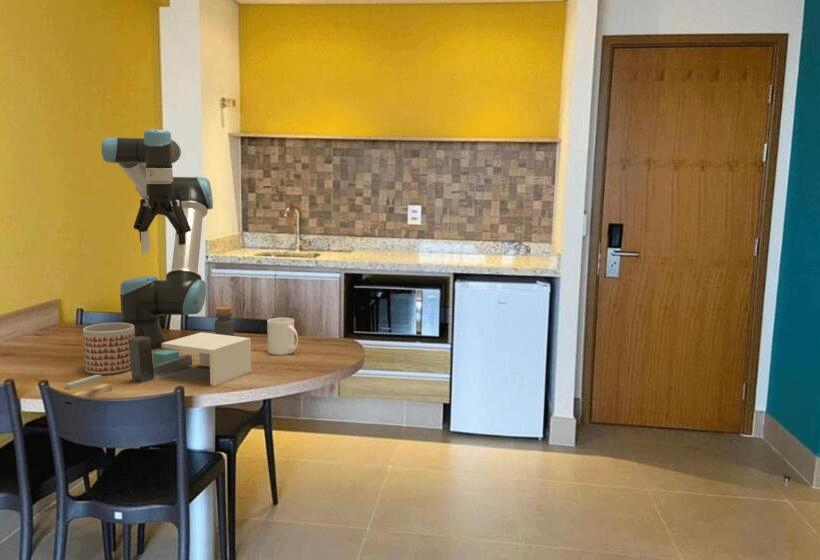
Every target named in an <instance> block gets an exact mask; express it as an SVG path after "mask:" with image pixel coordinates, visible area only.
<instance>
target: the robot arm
mask: <svg viewBox="0 0 820 560" xmlns="http://www.w3.org/2000/svg"><path fill="white" fill-rule="evenodd" d="M181 155H182V151H181V146H180V144H179V143H177V142H176V141H175V140H173V139H172V133H171V132H170V130H167V129H147V130H144V132H143V138H142V137H139V138H137V137H116V136H115V137H106V138H104V139H103V140H102V142H101V156H102V159H103V160H104V162H106V163H112V164H118V166H119V167H120V168H121V169H122V171H123V172H124V173H125V174H126V175H127V176H128V178H129V179H130V180H131V181H132V182H133V184H134V185H135V189H136V192H137V194H138V195H139V196H140V197H141V198H140V200H139V201H140V203H139V209H138V212H137V214H136V218H135V221H134V224H133V229H134V230H137V231H138V232H139V242H140V243H141V245H140V247H141V254H150V253H151V238H150V237H151V236H150V235H151V234H150V231H149V227H150V226H151V224H152V223H153V221H154V220H155V218H156V216H157V215H161V216H164V217H166V218H167V220H168V221H169V223H170V225H172V227H173V228H174V230H175V233H174V245H173V253H172V263H171V270H170V271H168V272H167V273H166V274H165V275H166V276H165V280H164V279H163V280H162V279H161V280H158V279H159V278H158V276H157V275H148V276H146V275H144V276H139V277H134V278H129V279H126V280H124V281H122V282H121V283H120V287H119V288H120V290H119V293H120V294H119V296H120V299H119V300H120V312H121V313H120V314H121V323H129V324H132V325H134V329H135V337H138V336H145V337H150V338H151V349H152V350H153V349H157V348H162V343H164V342H166V337H165V334H164V333H163V330H162V326H161V324H160V317H159V316H169V315H170V316H174V315H175V316H179V315H180V316H181V315H182V316H188V315H198V314H199V313H200V312H201V311H202V310H203V308H204V305H205V301H206V295H207V293H206V290H207V285H206V282H205V280H203V279H202V276H201V274H199V273H198V270H199V263H200V262H199V261H200V248H201V240H202V228H203V219H204V218H205V217H206V216H207V215H208V210H212V209H213V208H214V199H213V193H212V186H211V182H210V180H209V179H208V178H207V177H201V176H195V177H194V176H192V177H191V176H174V175H173V164H174V163H176V162H178V160H179V159H180V158H181Z"/></svg>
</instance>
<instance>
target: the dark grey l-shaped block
mask: <svg viewBox="0 0 820 560" xmlns="http://www.w3.org/2000/svg"><path fill="white" fill-rule="evenodd" d="M128 340H129V351H130V361H131V371H130V372H131V380H132V381H135V382H138V383H145V382H148V381H152V380H155V378H158V377H163V376H162V375H165V374H168V373H171V372H174V371H177V370H180V369H183V368H186V367H192V366H193V358H192V355H191V354H190V355H189V354H185V355H182V356H179V357H178V358H174V359H171V360H168V361H165V362H162V363H159V364H156V365H154V362H153V353H152V352H153V349H151V338H150V337H145V336H138V337H135V338H131V339H128Z"/></svg>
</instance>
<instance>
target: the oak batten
mask: <svg viewBox="0 0 820 560" xmlns="http://www.w3.org/2000/svg"><path fill="white" fill-rule="evenodd" d="M112 387H113V386H112V384H110V383H102V384H98V385H96V386H92V387H89V388H86V389H83V390H80V391H77V392H73V393H71V395H75V396H80V397H91V398H94V397H97V396H100V395H102V394H105V393H106V394H107V393H109V392H111V391H113V388H112Z"/></svg>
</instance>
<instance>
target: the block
mask: <svg viewBox="0 0 820 560" xmlns="http://www.w3.org/2000/svg"><path fill="white" fill-rule="evenodd" d="M179 352H180V351H179V350H177V351H176V350H174V349H165V350H164V349H163V350H160V351H156V352H153V353H152V360H153V365H156V364H159V363H162V362H165V361H168V360H171V359H174V358H178V357H180V353H179Z"/></svg>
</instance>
